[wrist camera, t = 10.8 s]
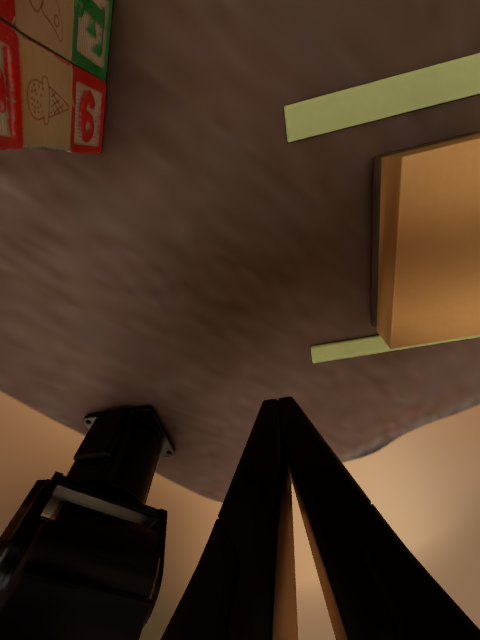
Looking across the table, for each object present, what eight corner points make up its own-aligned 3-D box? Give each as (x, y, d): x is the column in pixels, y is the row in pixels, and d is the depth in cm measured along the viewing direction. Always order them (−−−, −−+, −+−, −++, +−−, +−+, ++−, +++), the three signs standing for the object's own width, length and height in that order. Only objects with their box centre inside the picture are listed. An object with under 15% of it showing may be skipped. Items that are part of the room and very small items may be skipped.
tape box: (530, 327, 19) (533, 328, 19) (312, 361, 21) (312, 363, 21) (647, 7, 11) (653, 5, 11) (283, 106, 13) (284, 106, 13)
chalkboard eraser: (443, 306, 19) (482, 334, 16) (367, 319, 19) (390, 349, 16) (472, 131, 14) (537, 123, 11) (368, 157, 14) (402, 156, 11)
